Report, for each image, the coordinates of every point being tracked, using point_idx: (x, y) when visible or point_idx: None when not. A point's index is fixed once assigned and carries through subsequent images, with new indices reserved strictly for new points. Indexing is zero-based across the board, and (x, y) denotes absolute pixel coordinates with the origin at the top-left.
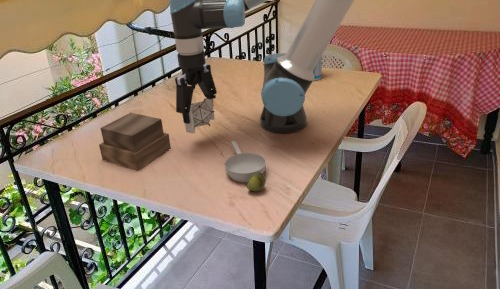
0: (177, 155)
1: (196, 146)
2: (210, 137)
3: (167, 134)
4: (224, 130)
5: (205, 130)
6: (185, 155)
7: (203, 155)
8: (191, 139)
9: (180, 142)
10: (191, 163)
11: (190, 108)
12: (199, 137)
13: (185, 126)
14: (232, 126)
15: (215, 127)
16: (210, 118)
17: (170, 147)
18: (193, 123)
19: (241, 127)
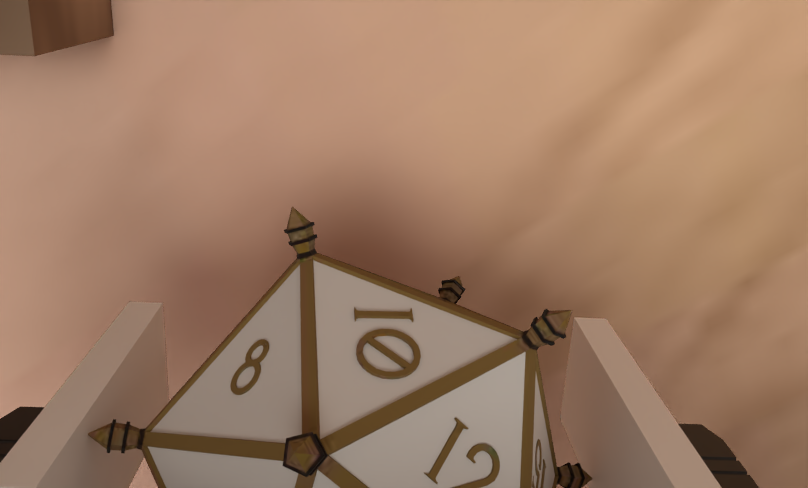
0: (43, 186)
1: (282, 250)
2: (500, 270)
3: (11, 52)
4: (682, 313)
5: (634, 137)
6: (85, 256)
7: (169, 394)
8: (392, 117)
9: (283, 44)
10: (3, 379)
11: (237, 470)
12: (463, 170)
13: (99, 342)
14: (786, 337)
15: (729, 197)
16: (566, 388)
17: (102, 37)
18: (124, 483)
19: (780, 418)
